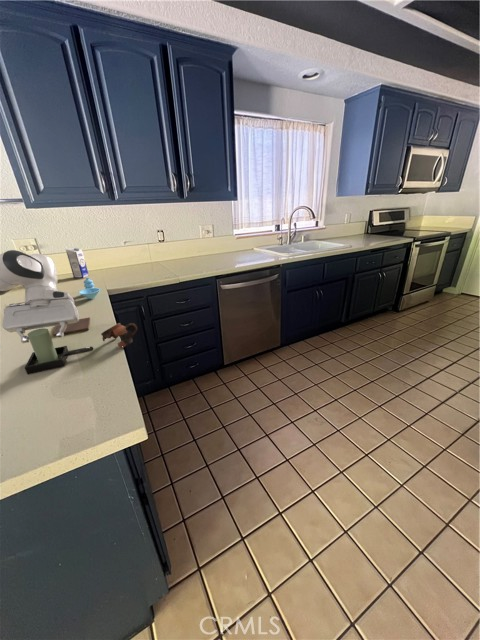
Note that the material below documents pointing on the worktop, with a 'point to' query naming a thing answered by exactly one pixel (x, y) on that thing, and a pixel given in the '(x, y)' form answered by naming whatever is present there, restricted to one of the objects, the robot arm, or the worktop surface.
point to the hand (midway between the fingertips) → (42, 339)
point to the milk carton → (77, 263)
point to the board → (75, 326)
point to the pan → (50, 365)
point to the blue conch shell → (89, 289)
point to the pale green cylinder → (43, 345)
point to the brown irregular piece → (121, 333)
